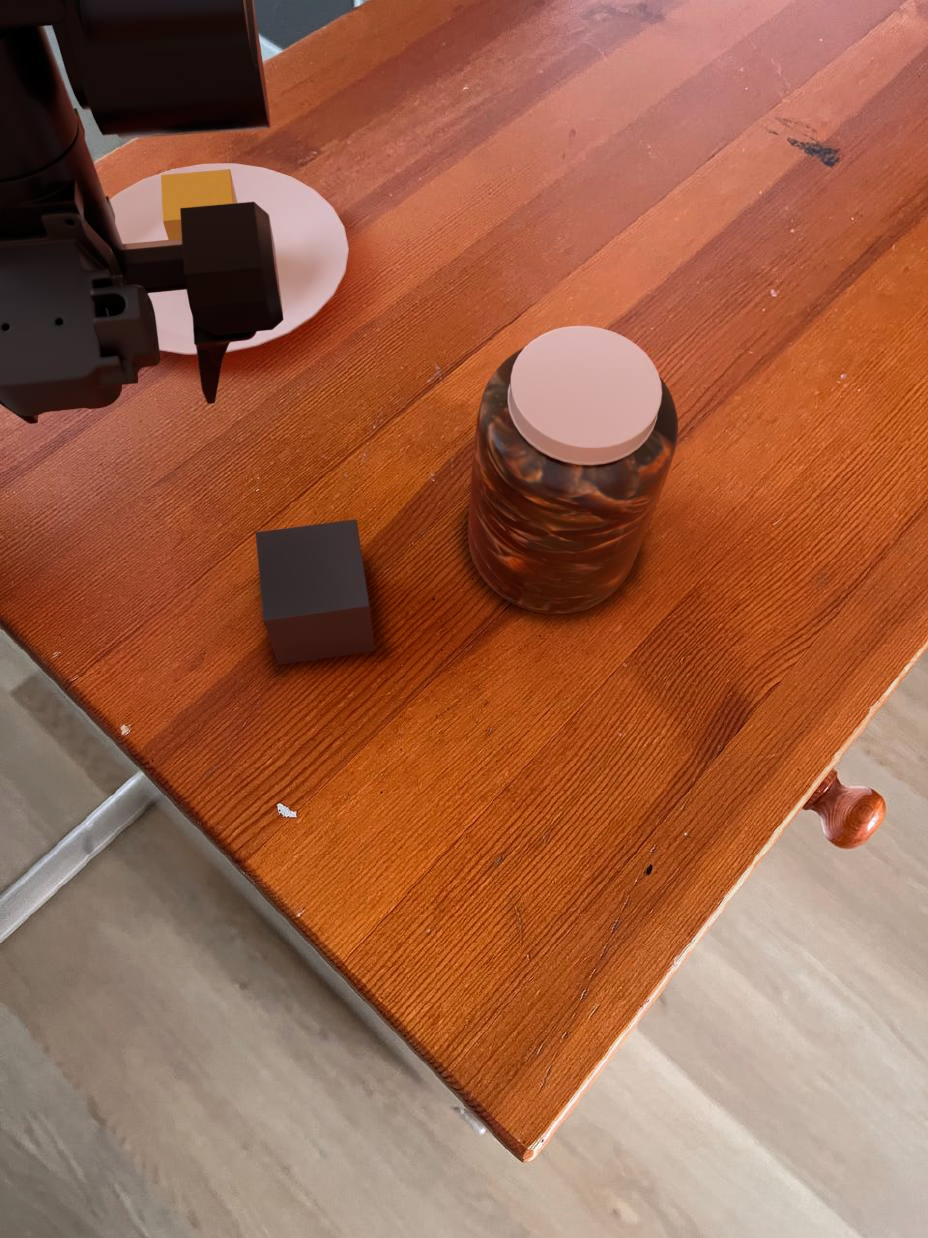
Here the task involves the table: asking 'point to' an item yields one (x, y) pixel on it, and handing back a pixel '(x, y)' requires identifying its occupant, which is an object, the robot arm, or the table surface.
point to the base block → (314, 591)
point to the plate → (301, 240)
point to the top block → (193, 195)
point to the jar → (568, 468)
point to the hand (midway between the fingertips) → (123, 407)
